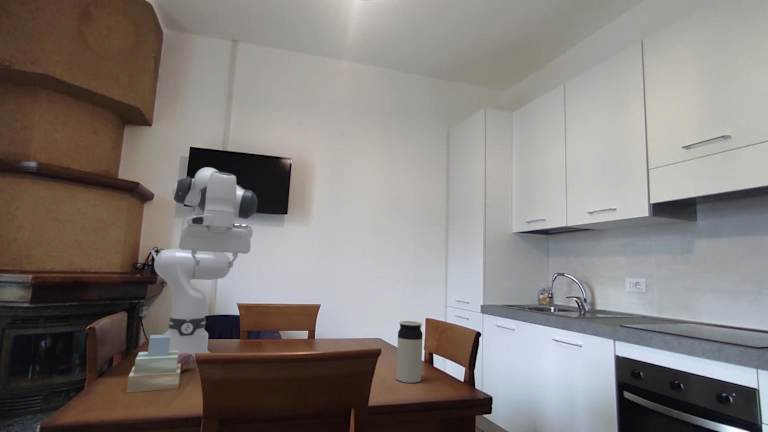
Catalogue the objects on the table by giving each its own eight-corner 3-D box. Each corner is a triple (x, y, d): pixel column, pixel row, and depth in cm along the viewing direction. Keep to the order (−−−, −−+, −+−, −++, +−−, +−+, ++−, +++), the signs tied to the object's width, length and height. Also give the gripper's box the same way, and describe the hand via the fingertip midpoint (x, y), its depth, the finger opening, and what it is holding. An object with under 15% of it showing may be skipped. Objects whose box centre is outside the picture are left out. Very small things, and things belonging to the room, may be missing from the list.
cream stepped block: (131, 380, 112) (135, 351, 113) (179, 377, 117) (182, 349, 118) (126, 392, 101) (130, 360, 102) (178, 388, 106) (181, 357, 107)
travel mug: (412, 385, 120) (414, 324, 123) (391, 379, 125) (393, 321, 127) (425, 380, 126) (427, 322, 129) (405, 375, 131) (407, 320, 134)
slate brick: (148, 353, 111) (151, 335, 112) (168, 352, 113) (170, 334, 114) (147, 356, 107) (149, 337, 108) (168, 355, 109) (170, 337, 110)
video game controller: (167, 381, 117) (179, 360, 118) (156, 373, 118) (168, 352, 119) (189, 373, 127) (199, 354, 127) (178, 365, 128) (189, 346, 128)
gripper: (251, 226, 129) (247, 268, 127) (182, 219, 120) (176, 265, 118) (254, 224, 124) (250, 268, 122) (182, 217, 115) (176, 265, 113)
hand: (213, 266), depth 120 cm, fingers open, 8 cm apart
